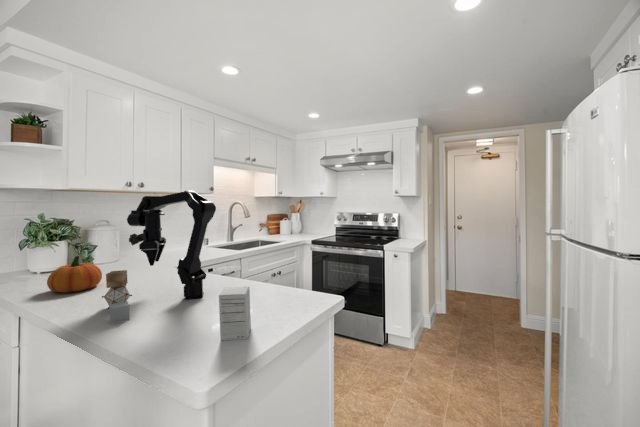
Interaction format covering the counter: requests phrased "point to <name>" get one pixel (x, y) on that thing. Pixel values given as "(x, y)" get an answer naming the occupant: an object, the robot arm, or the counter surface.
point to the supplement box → (234, 313)
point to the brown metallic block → (116, 278)
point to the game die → (117, 295)
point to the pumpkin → (74, 277)
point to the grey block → (119, 312)
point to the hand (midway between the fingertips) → (154, 263)
